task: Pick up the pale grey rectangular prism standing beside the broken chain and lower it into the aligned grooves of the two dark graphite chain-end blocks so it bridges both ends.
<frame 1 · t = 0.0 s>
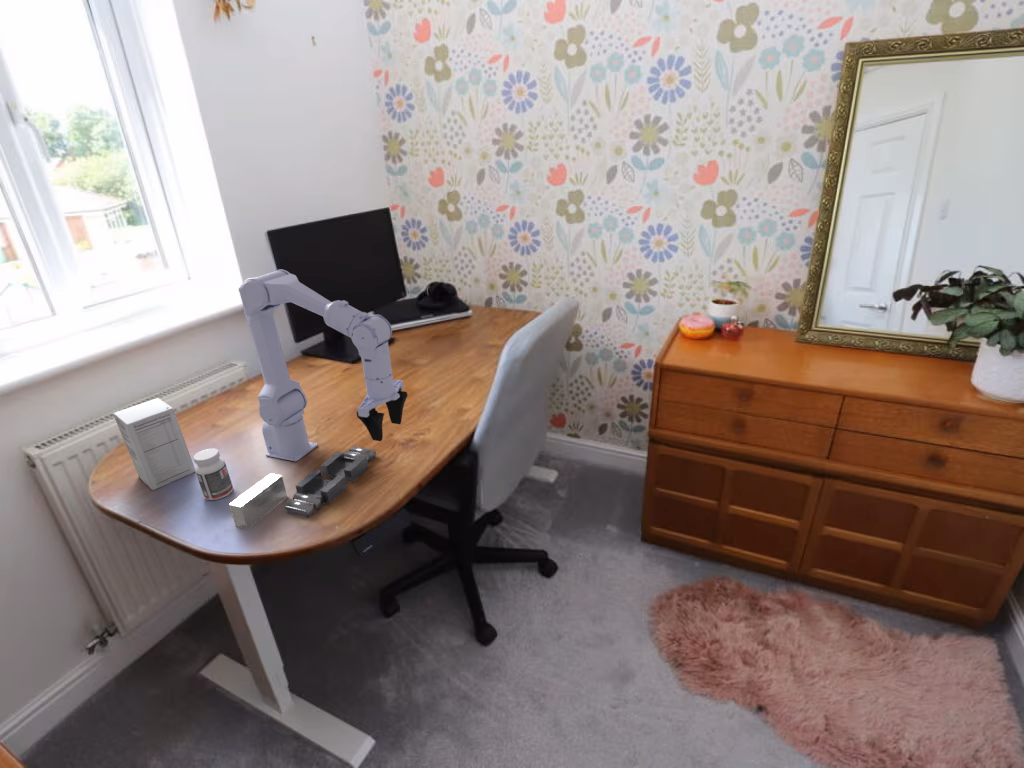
hand: (387, 431, 116), 10 cm above the table, fingers open, 7 cm apart
chain end b: (345, 472, 120), on the table
pill bottle: (219, 493, 114), on the table
supplement box: (167, 475, 122), on the table
pale grey rectangular prism: (262, 511, 108), on the table
chain end a: (323, 492, 113), on the table
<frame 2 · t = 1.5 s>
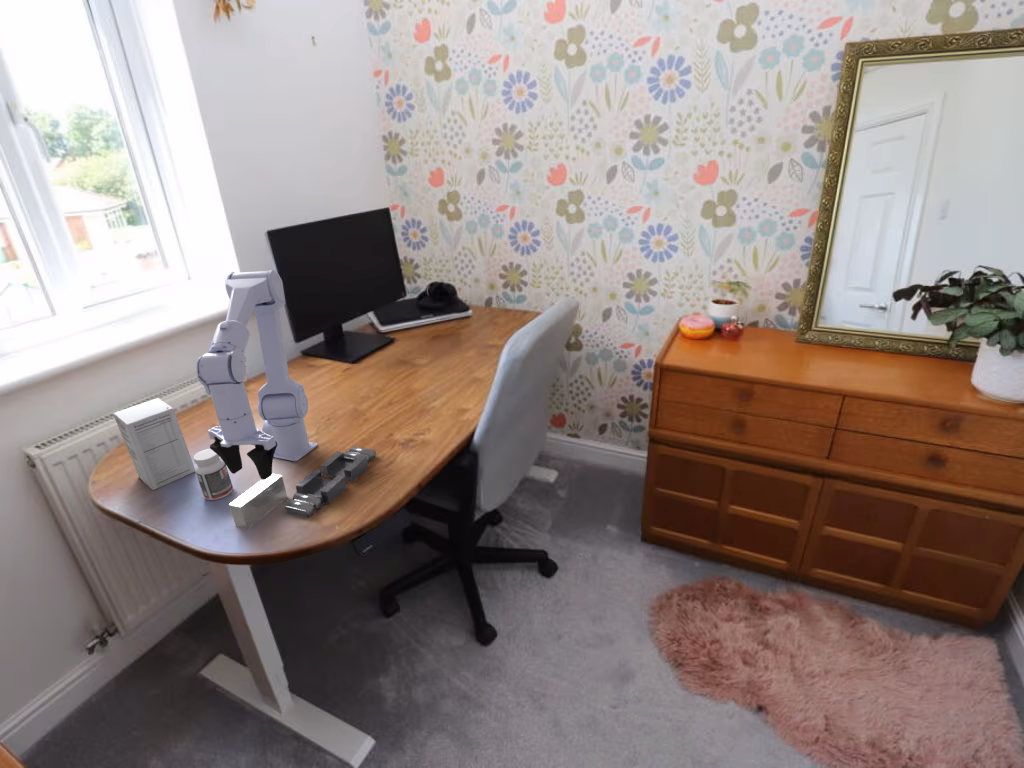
hand: (251, 474, 104), 9 cm above the table, fingers open, 7 cm apart
nothing on the table moved.
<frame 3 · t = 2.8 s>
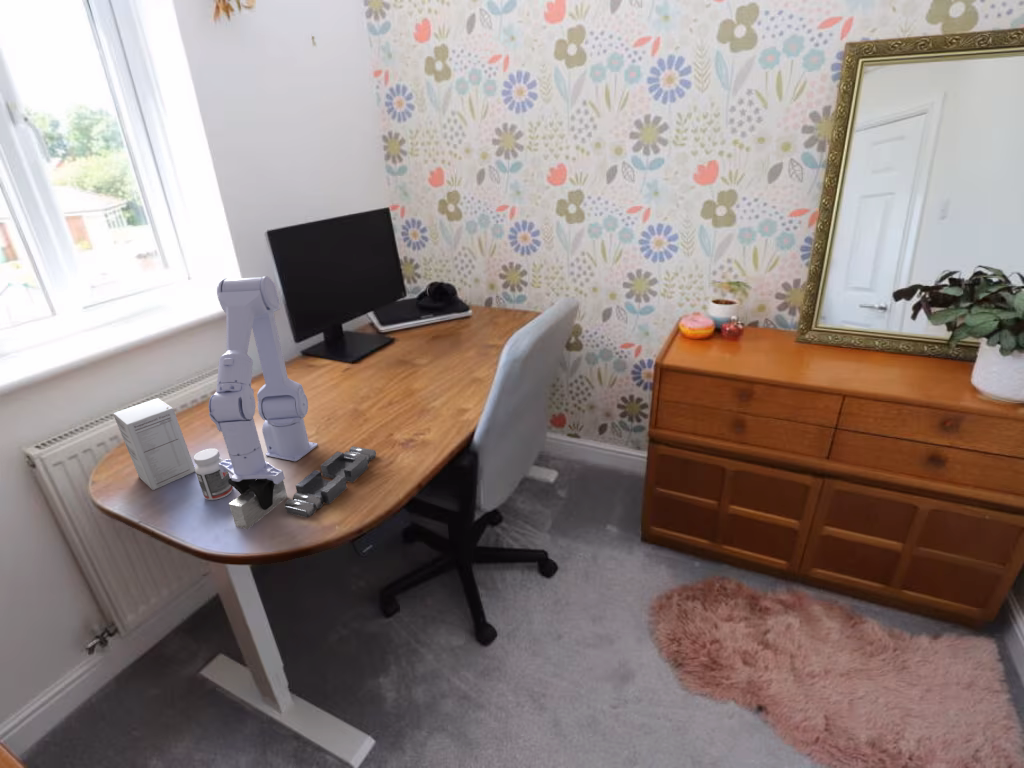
hand: (260, 505, 107), 1 cm above the table, fingers closed on pale grey rectangular prism, 3 cm apart
pale grey rectangular prism: (262, 511, 108), on the table, touching gripper
everything else where it was.
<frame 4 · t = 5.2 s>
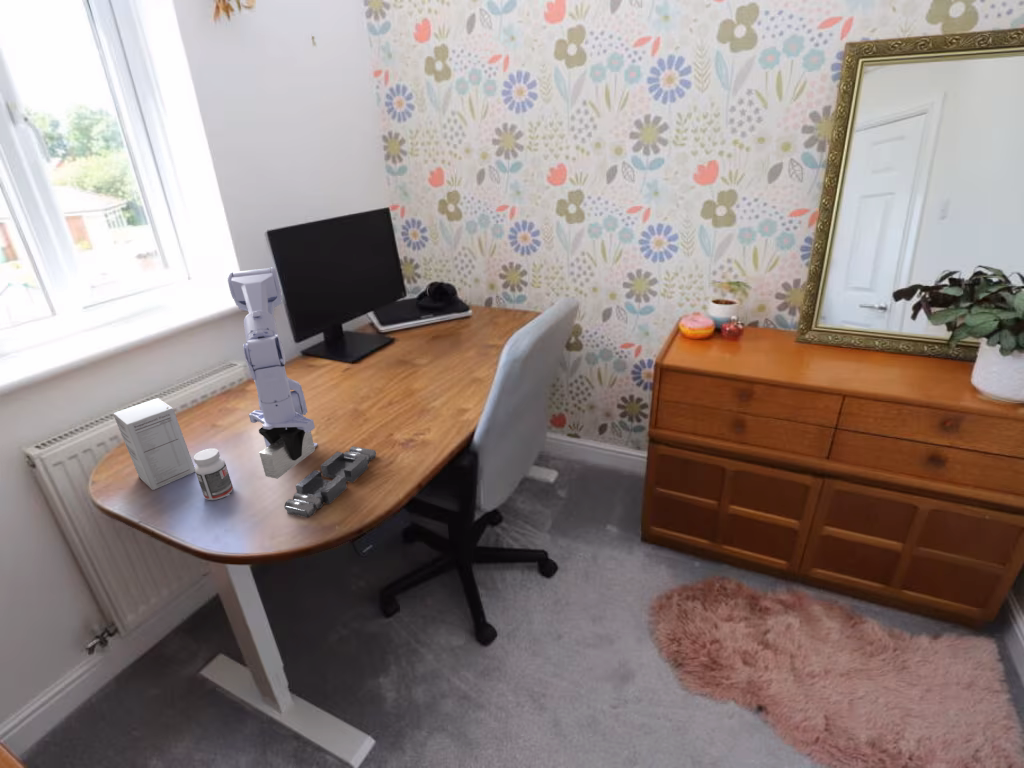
hand: (290, 456, 108), 10 cm above the table, fingers closed on pale grey rectangular prism, 3 cm apart
pale grey rectangular prism: (291, 462, 109), point 8 cm above the table, touching gripper
everything else where it was.
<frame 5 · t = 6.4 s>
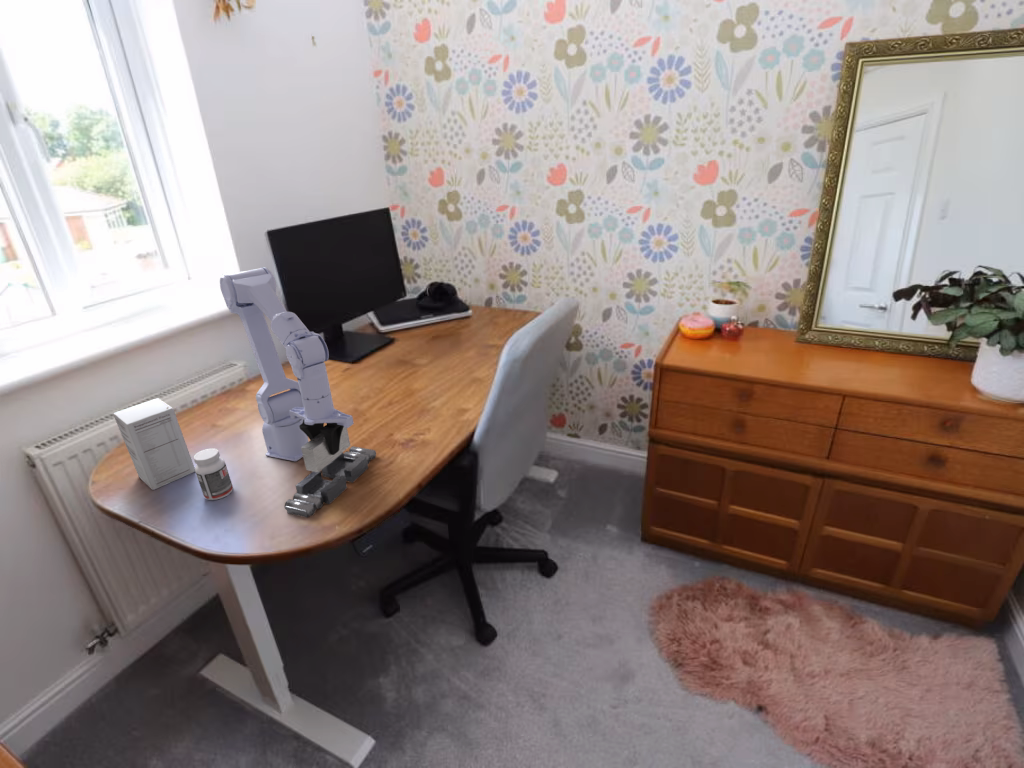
hand: (328, 451, 113), 8 cm above the table, fingers closed on pale grey rectangular prism, 3 cm apart
pale grey rectangular prism: (329, 457, 113), point 6 cm above the table, touching gripper
everything else where it was.
when the fingers open (4 cm above the table, at t = 7.6 s): pale grey rectangular prism drops 1 cm, resting on chain end a, chain end b.
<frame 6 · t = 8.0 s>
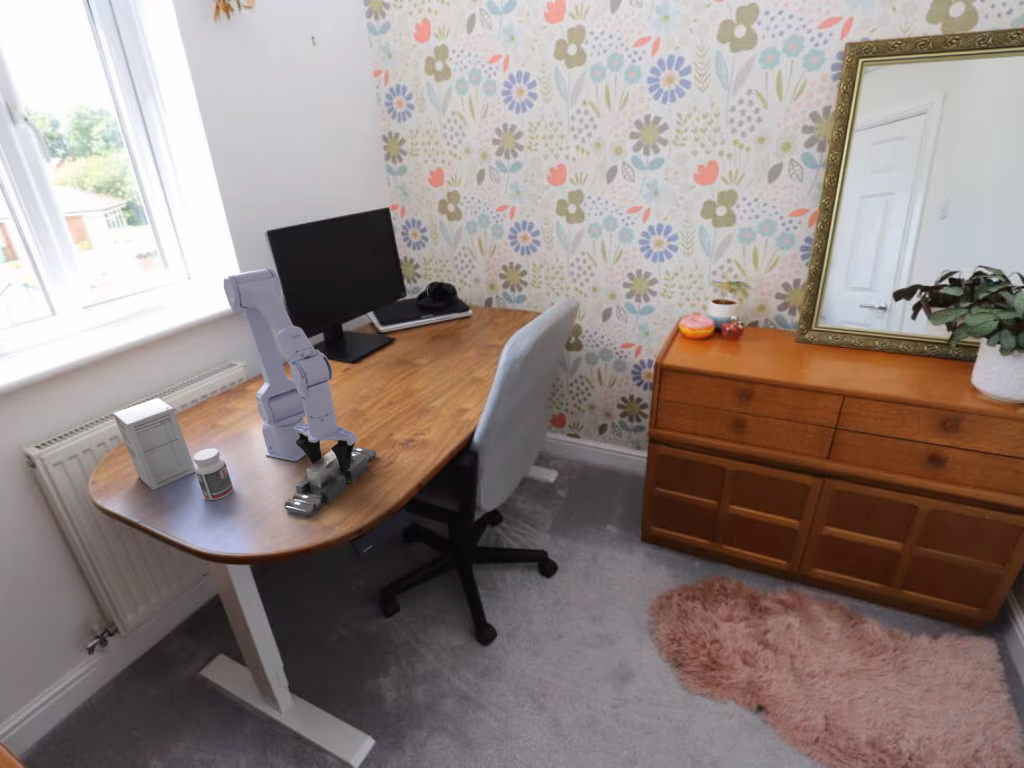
hand: (331, 467, 115), 4 cm above the table, fingers open, 7 cm apart
pale grey rectangular prism: (333, 478, 116), point 1 cm above the table, touching chain end a, chain end b
everything else where it was.
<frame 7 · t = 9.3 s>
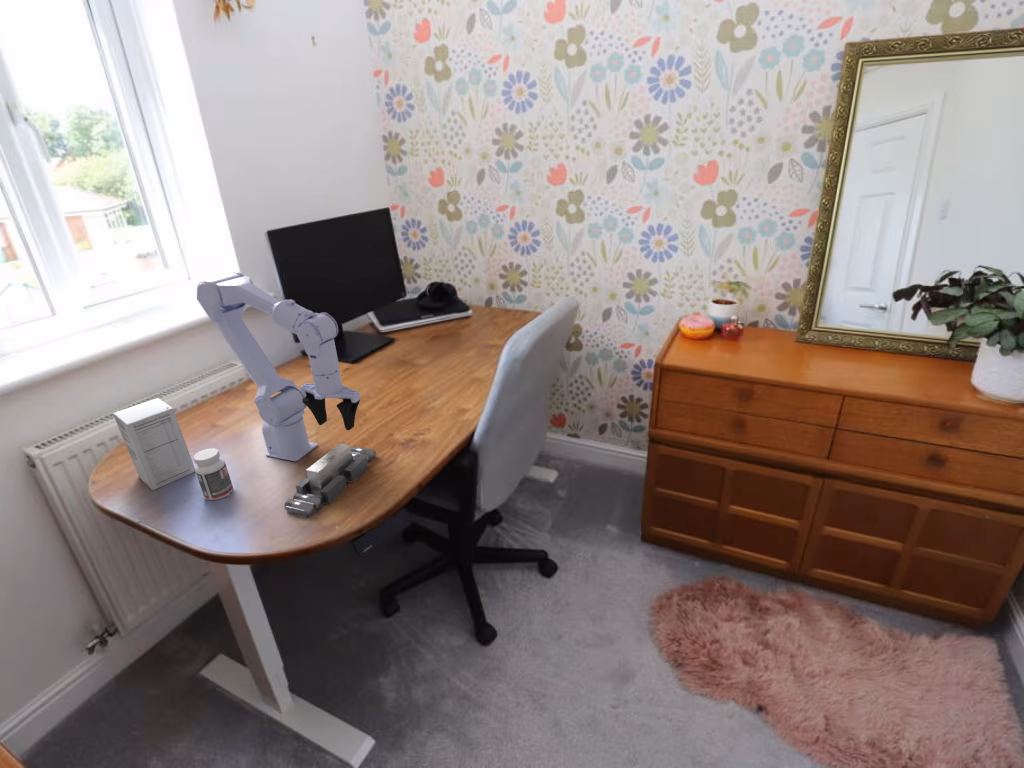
hand: (336, 425, 119), 10 cm above the table, fingers open, 7 cm apart
nothing on the table moved.
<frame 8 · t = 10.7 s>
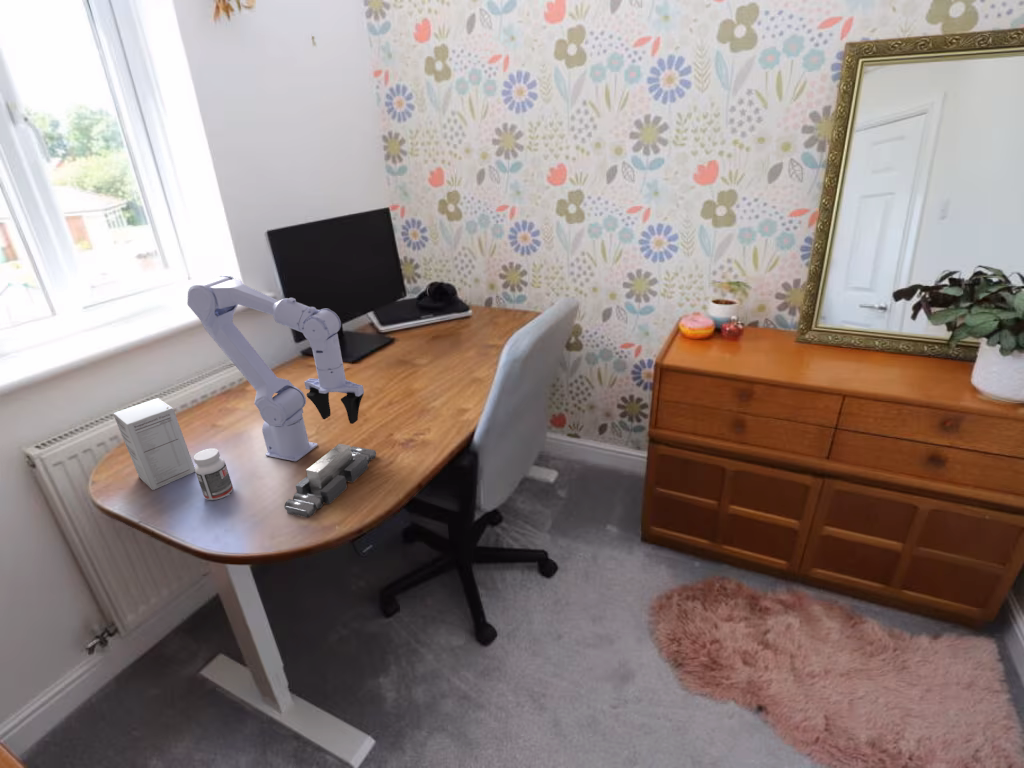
hand: (340, 419, 122), 10 cm above the table, fingers open, 7 cm apart
nothing on the table moved.
at the end: pale grey rectangular prism 0.1 cm from the target spot, point 1.0 cm above the table; the gripper is holding nothing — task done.
